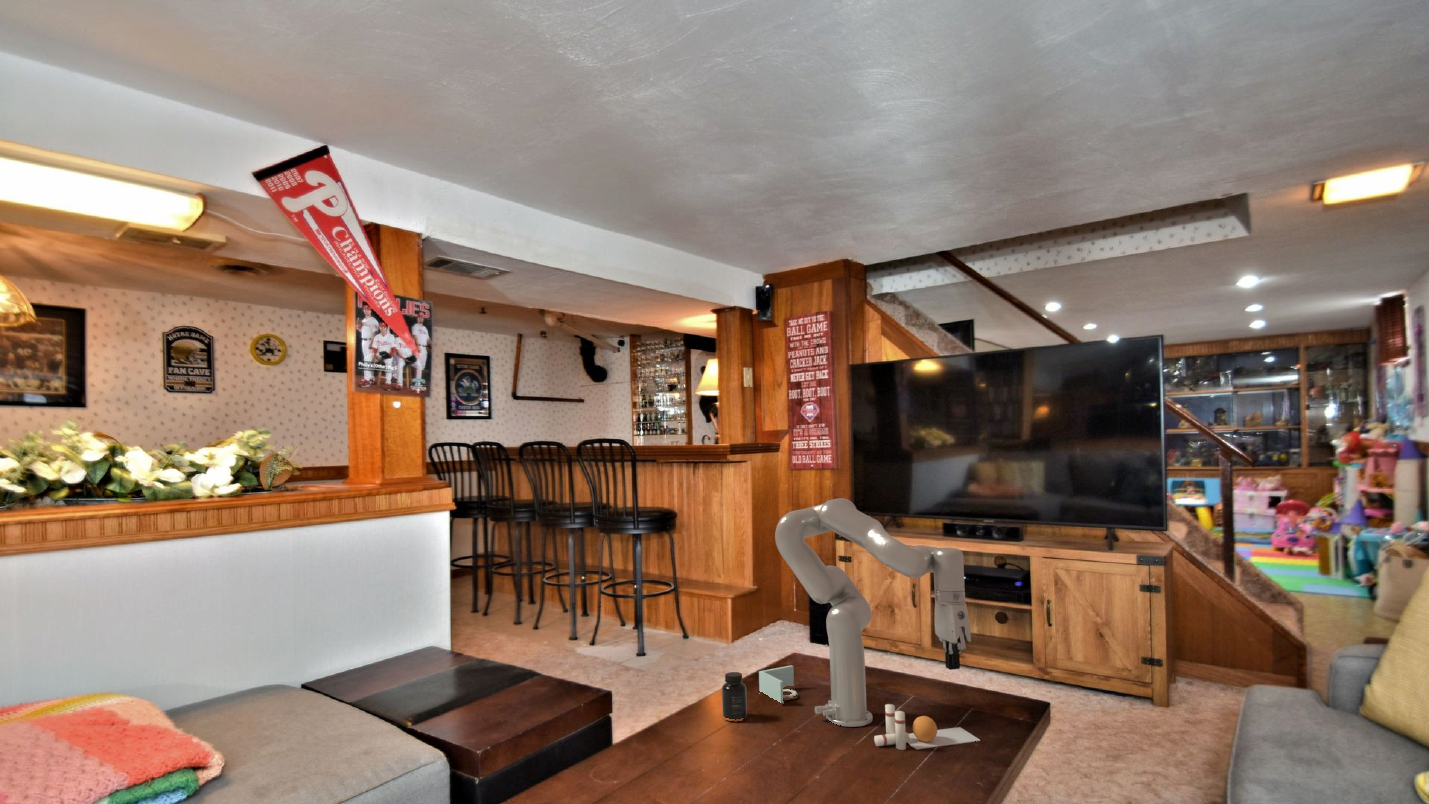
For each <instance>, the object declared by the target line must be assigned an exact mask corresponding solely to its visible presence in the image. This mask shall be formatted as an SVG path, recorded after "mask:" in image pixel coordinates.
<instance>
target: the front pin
mask: <svg viewBox="0 0 1429 804" xmlns="http://www.w3.org/2000/svg"><path fill="white" fill-rule="evenodd" d="M905 732H906V744H908V743H909V741H910V738H909V735H908V734H909V733H908V732H907V731H905ZM873 741H874V744H875V746H876V747H885V746H892V745H896V733H895V734H886V733H885V734H877V735H874V737H873Z"/></svg>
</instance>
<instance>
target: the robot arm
mask: <svg viewBox="0 0 1429 804" xmlns="http://www.w3.org/2000/svg"><path fill="white" fill-rule="evenodd" d="M829 532H834V533H836V534H837V535H839V536H841V537H843V538H845V539H847V540H848V541H850V542H852V543H854V544H855V545H857V546H859V547H861V548H862V549H864V550H865V551H866V552H867V553H868V554H870V555H871V557H873V558H875V559H876V560H877V561H879V562H880V563H881V564H883V565H885V566H886V567H888V568H889V569H891V570H893V571H895V572H897V573H899V574H900V575H902V576H905V577H907V578H911V579H919V578H921V577H923V576H925V575H927V574H930V573H933V583H934V584H933V585H934V586H933V587H934V601H935V602H934V603H935V604H934V632H935V635H936V636H937V637H938V640H939V641H940V642H941V643H942V645H943V651H944V656H945V657H944V659H945V668H946V669H948V670H959V669H960V668H961V659H960V658H961V657H960V654H961V652H962V650H966V648H967V647H966V646H967V645H966V643H968V644H969V643H971V642H972V637H971V636H972V635H971V624H970V623H971V622H970V616H969V611H968V606H967V603H966V592H965V591H966V589H965V571H964V570H965V569H964V568H965V567H964V554H963V552H962V550H961V549H959V548H955V547H934V546H929V545H920V544H919V545H914V546H912V547H911V546H909V545H907V544H905V543H903V542H901V541H900V540H897V538H894V537H892V535H890V534H889V533H888V532H887V531H886V529H885V527H884V526H883V524H882V523H881V522H880V521H879V520H878V519H876V518H873V517H871V516H869V515H867V514H865V513H863V512H862V511H860V510H858V509H857V507H856V505H855V504H854V503H853V502H852V501H851V500H849V499H847V498H844V497H843V498H842V497H840V498H839V497H838V498H834V499H830V500H827V501H825V502H824V503H821V504H818V505H815V506H814V505H813V506H810V507H806V508H802V509H797V510H796V509H795V510H792V511H789V512H787V513H785V514H784V515H783V516H782V517H781V518H780V519H779V521H778V523H777V525H776V528H775V533H774V539H775V540H774V541H775V545H776V547H777V550H778V553H780V555H781V557H782V559H784V561H785V562H786V564H787V565H788V566H789V568H790V569H791V570H792V572H793V574H794V575H795V576H796V578H797V579H798V581H799V582H800V584H801V585H802V587H803V588H804V590H805V591H806V592H807V594H808V595H809V597H810V598H811V600H813V601H814V602H815V603H818V604H820V605H823V604H828V603H830V605H831V608H830V609H829V611H828V613H827V615H826V619H825V620H826V621H825V624H826V633H827V637H828V639H827V640H828V646H829V647H828V649H829V668H830V669H829V670H830V695H831V696H830V699H828V700H827V703H826V704H825V705H818V706H817V705H816V706H814V713H815V715H817V714H818V715H819V714H823V717H824V716H825V718H826V720H827V719H828V720H829V721H831V722H832V723H831V722H830V723H831V724H833V723H834V724H833V725H836V724H837V725H836V726H840V725H841V726H842V727H847V728H848V727H849V728H850V727H851V728H852V727H853V728H855V727H864V726H867V725H869V724H871V723H872V722H873V720H874V719H873V718H874V717H873V714H872V712H870V711H869V710H867V687H866V686H867V685H866V683H867V682H866V661H865V660H866V659H865V648H864V641H863V635H862V631H863V630H864V629H865V628H867V627H868V625H870V622H871V620H872V616H873V615H872V614H873V613H872V610H871V609H872V608H871V607H870V605H869V602H868V601H867V599H866V598H865V597H864V595H863V594H862V592H861V591H860V590H859V588H858V587H857V586H856V584H855V583H854V582H853V579H851V578H850V576H849V575H848V574H847V573H846V572H845V571H844V570H843V569H841V568H840V567H838V566H835V565H825V564H824V562H823V561H822V559H821V558H820V557H819V555H818V554H817V553H816V551H815V550H814V549H813V548H812V547H811V546H810V545H808V543H807V542H806V539H809V538H811V537H814V536H819V535H822V534H826V533H829ZM828 720H827V721H828ZM829 721H828V722H829ZM841 726H840V727H841Z"/></svg>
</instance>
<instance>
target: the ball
mask: <svg viewBox="0 0 1429 804" xmlns="http://www.w3.org/2000/svg"><path fill="white" fill-rule="evenodd" d="M937 730H938V726H937V723H936V722H935V721H934V720H933V718H931V717H929V716H928V715H921V716H918V717H916V718H915V719H914V721H913V724H912V731H913V732H912V733H914V735H915V736H916V737H917V738H918V739H919V740H921V741H923V742H930V741H932V740H933V739H934V738H935V737H936V735H937Z"/></svg>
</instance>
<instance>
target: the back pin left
mask: <svg viewBox="0 0 1429 804" xmlns="http://www.w3.org/2000/svg"><path fill="white" fill-rule="evenodd" d="M884 710H885V713H884V714H885V731H886V732H885V735H886V734H895V733H896V731H895V711H896V706H895V705H894V704H891V703H887V704H885V705H884Z"/></svg>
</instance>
